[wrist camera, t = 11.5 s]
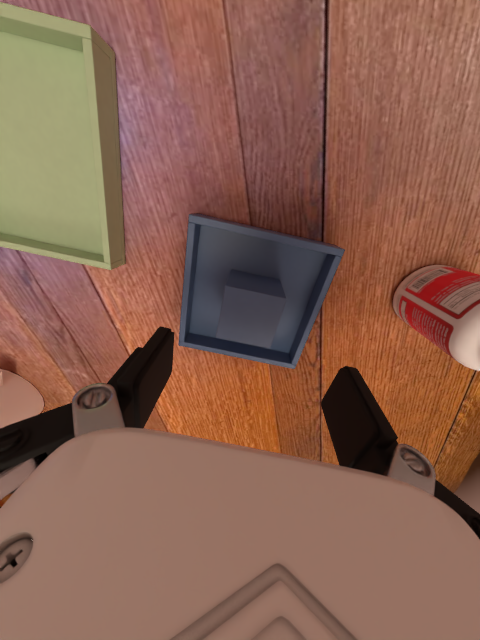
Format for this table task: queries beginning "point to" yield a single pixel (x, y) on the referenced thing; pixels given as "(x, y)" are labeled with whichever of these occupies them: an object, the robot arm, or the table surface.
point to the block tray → (261, 259)
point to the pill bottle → (443, 310)
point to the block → (250, 309)
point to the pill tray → (59, 140)
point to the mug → (17, 399)
